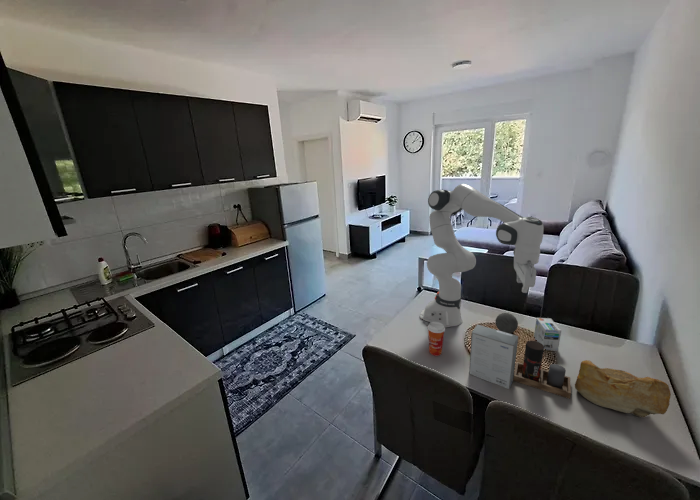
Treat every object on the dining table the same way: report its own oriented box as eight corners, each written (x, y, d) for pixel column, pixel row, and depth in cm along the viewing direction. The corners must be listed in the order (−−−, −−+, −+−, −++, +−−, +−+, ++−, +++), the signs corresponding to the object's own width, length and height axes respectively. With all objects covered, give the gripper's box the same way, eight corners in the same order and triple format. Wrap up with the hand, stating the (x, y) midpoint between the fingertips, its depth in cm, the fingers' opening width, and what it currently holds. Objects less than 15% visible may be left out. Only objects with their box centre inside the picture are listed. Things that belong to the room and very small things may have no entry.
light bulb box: (558, 351, 132) (562, 330, 129) (541, 350, 133) (545, 329, 130) (548, 337, 142) (551, 317, 139) (532, 336, 143) (535, 317, 140)
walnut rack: (513, 381, 116) (513, 375, 115) (515, 367, 124) (516, 361, 123) (569, 400, 106) (570, 393, 105) (568, 383, 114) (570, 377, 113)
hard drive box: (514, 379, 118) (519, 336, 112) (509, 390, 112) (514, 346, 106) (474, 363, 127) (477, 323, 121) (467, 373, 122) (471, 332, 116)
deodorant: (529, 370, 121) (534, 339, 116) (542, 380, 115) (548, 347, 111) (518, 374, 119) (522, 342, 115) (530, 384, 114) (535, 351, 109)
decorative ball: (498, 324, 155) (500, 307, 152) (519, 330, 148) (521, 313, 145) (491, 332, 149) (493, 314, 146) (512, 339, 142) (515, 321, 139)
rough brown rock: (662, 406, 103) (671, 368, 99) (663, 434, 91) (674, 392, 88) (579, 376, 119) (585, 343, 116) (571, 398, 107) (578, 361, 104)
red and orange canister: (423, 352, 136) (424, 326, 132) (431, 344, 142) (432, 319, 137) (439, 359, 131) (440, 332, 127) (447, 351, 136) (448, 324, 132)
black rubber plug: (546, 387, 112) (549, 370, 109) (546, 379, 116) (549, 362, 113) (562, 392, 109) (565, 374, 107) (562, 383, 113) (565, 366, 111)
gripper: (542, 267, 111) (536, 299, 115) (528, 249, 129) (524, 277, 134) (524, 265, 112) (518, 297, 117) (512, 248, 131) (508, 276, 135)
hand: (521, 287), depth 125 cm, fingers open, 8 cm apart
